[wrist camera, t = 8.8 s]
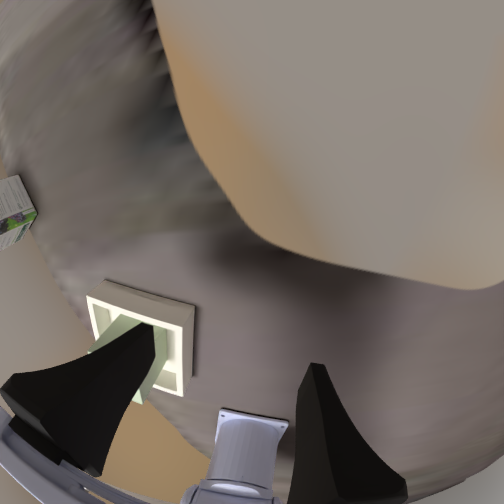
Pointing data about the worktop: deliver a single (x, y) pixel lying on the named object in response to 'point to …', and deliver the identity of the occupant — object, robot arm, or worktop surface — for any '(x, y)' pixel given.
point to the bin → (154, 312)
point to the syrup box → (14, 211)
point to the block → (160, 339)
